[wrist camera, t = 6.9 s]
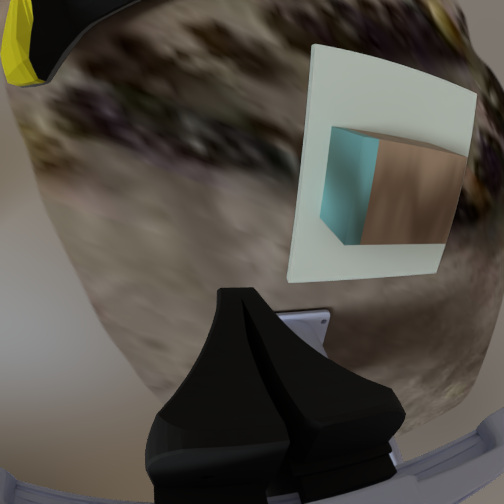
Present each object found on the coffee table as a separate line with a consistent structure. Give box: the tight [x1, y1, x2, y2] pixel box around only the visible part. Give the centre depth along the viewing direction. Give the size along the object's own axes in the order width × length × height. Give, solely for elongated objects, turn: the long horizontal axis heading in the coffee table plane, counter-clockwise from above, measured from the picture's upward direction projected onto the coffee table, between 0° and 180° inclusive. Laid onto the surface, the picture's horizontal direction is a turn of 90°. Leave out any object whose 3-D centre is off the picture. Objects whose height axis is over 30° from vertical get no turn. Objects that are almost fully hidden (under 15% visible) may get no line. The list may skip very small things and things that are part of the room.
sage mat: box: [287, 44, 477, 283], centre depth 21 cm, size 16×14×1 cm
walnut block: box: [319, 126, 468, 245], centre depth 18 cm, size 6×4×8 cm
